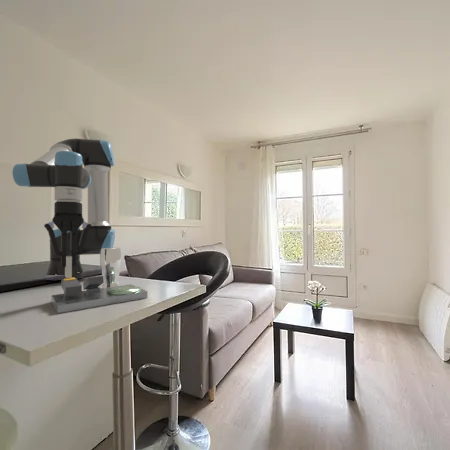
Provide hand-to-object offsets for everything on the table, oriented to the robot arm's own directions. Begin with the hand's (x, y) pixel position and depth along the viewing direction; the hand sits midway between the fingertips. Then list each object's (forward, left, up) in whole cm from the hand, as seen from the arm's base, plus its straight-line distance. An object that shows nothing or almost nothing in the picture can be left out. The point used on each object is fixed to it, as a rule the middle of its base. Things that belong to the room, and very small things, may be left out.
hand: (68, 277), depth 83 cm
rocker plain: (+5, +6, -2) cm, 8 cm away
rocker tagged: (+5, 0, -2) cm, 5 cm away
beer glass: (-5, +14, -7) cm, 17 cm away
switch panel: (+7, +8, -7) cm, 13 cm away
